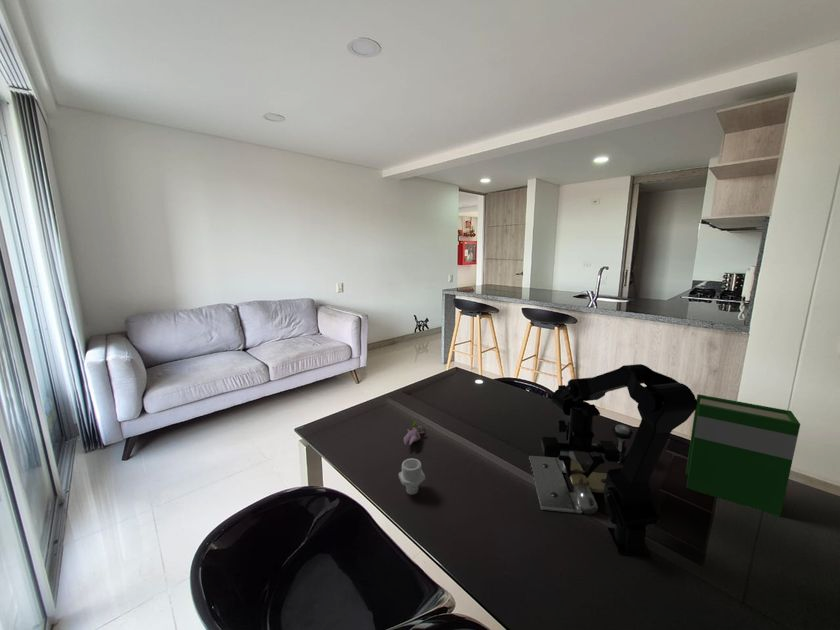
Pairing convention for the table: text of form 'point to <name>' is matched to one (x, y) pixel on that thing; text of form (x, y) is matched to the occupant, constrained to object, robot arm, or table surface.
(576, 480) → the brass hinge leaf
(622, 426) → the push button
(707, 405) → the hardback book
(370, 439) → the table surface
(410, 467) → the pipe fitting
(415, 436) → the purple flower
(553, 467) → the steel hinge leaf
